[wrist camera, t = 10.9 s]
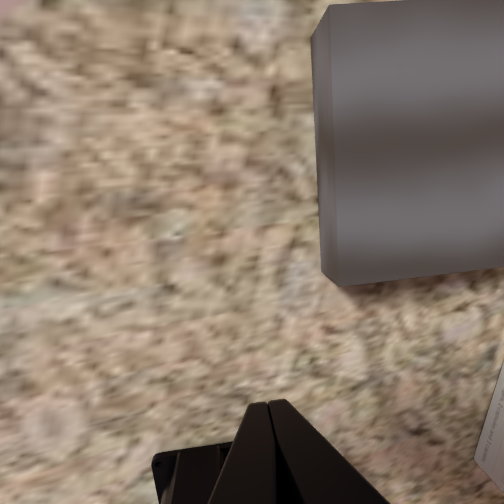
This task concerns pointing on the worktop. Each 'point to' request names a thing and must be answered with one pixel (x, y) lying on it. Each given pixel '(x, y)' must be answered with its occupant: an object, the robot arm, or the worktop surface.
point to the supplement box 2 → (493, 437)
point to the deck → (409, 138)
